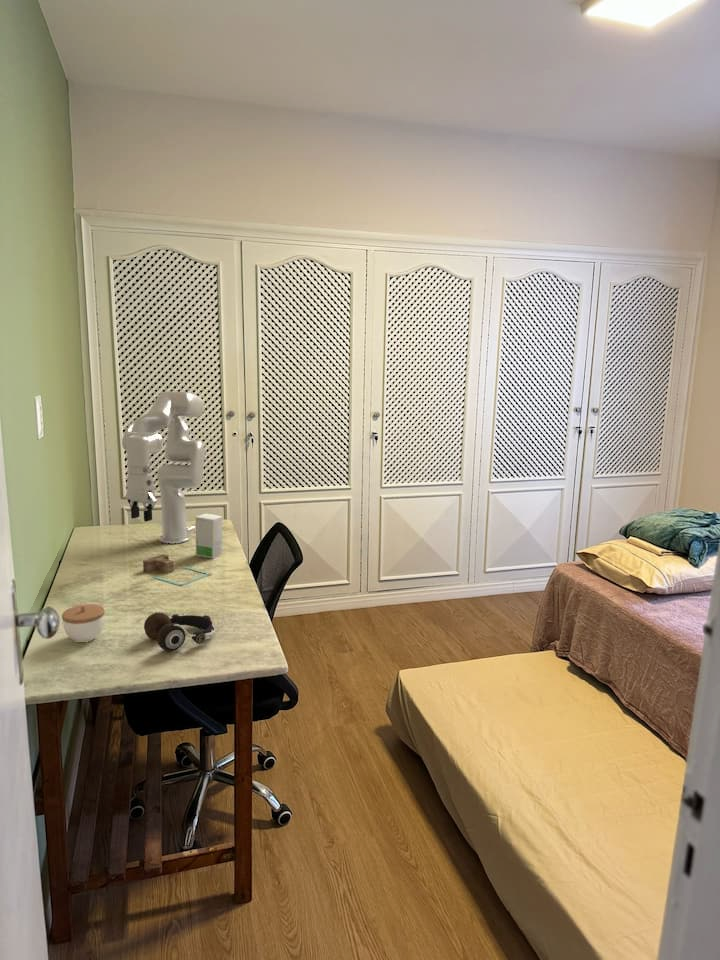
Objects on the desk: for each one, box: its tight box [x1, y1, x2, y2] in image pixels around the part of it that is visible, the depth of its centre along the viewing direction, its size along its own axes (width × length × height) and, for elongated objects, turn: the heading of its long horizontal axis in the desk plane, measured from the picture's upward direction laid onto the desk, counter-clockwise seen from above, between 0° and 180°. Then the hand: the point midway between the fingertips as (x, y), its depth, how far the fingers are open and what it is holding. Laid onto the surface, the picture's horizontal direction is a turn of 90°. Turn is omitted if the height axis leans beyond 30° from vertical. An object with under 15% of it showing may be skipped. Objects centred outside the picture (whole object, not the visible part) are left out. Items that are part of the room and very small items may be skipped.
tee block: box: [142, 553, 175, 575], centre depth 232 cm, size 9×9×4 cm
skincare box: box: [195, 513, 223, 559], centre depth 248 cm, size 8×7×16 cm
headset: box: [143, 610, 216, 653], centre depth 180 cm, size 17×8×20 cm
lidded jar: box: [61, 603, 105, 643], centre depth 178 cm, size 11×11×9 cm
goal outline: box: [153, 565, 211, 587], centre depth 227 cm, size 14×14×1 cm
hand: (141, 518), depth 234 cm, fingers open, 6 cm apart
